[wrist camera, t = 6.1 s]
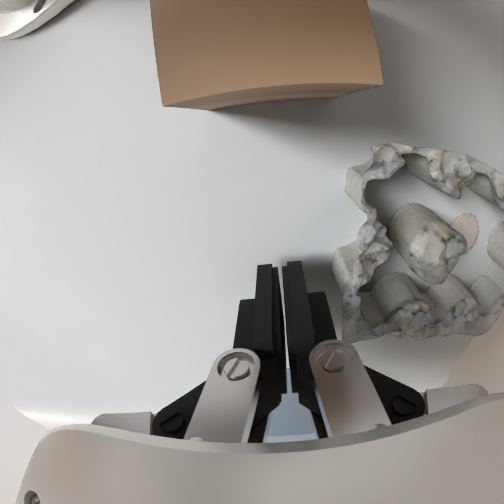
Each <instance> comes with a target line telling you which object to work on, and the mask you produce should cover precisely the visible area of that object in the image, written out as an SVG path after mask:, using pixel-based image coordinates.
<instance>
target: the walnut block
mask: <svg viewBox="0 0 504 504" xmlns="http://www.w3.org/2000/svg"><path fill="white" fill-rule="evenodd" d="M150 6H151V18H152V29H153V38H154V47H155V55H156V63H157V71H158V78H159V85H160V91H161V98H162V104H163V106H164V107H179V108H190V109H200V110H213V109H218V108H224V107H230V106H236V105H243V104H250V103H258V102H267V101H277V100H288V99H303V98H329V97H338V96H341V95H345V94H348V93H352V92H356V91H360V90H364V89H368V88H372V87H376V86H381V85H384V84H383V77H382V70H381V64H380V58H379V52H378V47H377V42H376V37H375V33H374V28H373V24H372V20H371V16H370V12H369V8H368V4H367V1H366V0H150Z"/></svg>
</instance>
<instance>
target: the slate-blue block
mask: <svg viewBox="0 0 504 504" xmlns="http://www.w3.org/2000/svg"><path fill="white" fill-rule="evenodd" d="M286 371H287V394H282V402H280V405H279V406H278V407H276V408H275V409H274V410H273V411H272V414H271V422H270V426H269V431H268V436H267V441H266V443H276V442H292V441H304V440H313V439H316V436H315V433H314V429H313V425H312V421H311V418H310V414H309V409H307V408H306V407H304V406H303V405H301V404H300V403H299V398H298V393H292V387H291V376H290V368H287V369H286Z"/></svg>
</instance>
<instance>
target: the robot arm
mask: <svg viewBox="0 0 504 504" xmlns="http://www.w3.org/2000/svg"><path fill="white" fill-rule="evenodd" d="M73 1H75V0H0V39H15V38H18V37H21V36H24V35H26V34H27V33H29V32H31V31H33V30H35V29H37V28H38V27H40V26H41V25H43V24H44V23H45V22H47V21H48V20H50V19H51V18H53V17H54V16H56V15H57V14H58V13H59V12H60V11H62V10H63V9H64V8H65V7H67V6H68V5H69V4H71V3H72V2H73ZM282 275H283V288H284V303H285V318H286V334H287V346H288V356H289V366H290V376H291V387H292V393H298V398H299V403H300V404H301V405H303V406H304V407H306V408H307V409H309V414H310V418H311V421H312V425H313V429H314V433H315V436H316V439H313V440H304V441H292V442H276V443H266V441H267V436H268V431H269V426H270V422H271V414H272V411H273V410H274V409H275V408H276V407H278V406H279V405H280V402H282V394H287V371H286V348H285V328H284V317H283V308H282V299H281V291H280V283H279V274H278V267H272V264H266V265H258V266H257V280H256V294H255V299H246V300H241V301H240V304H239V311H238V318H237V325H236V332H235V338H234V345H233V349H231V350H228V351H226V352H224V353H222V354H221V355H219V356H218V357H217V358H216V360H215V361H214V363H213V365H212V368H211V370H210V373H209V375H208V378H207V380H206V381H205V382H203V383H202V384H200V385H199V386H197V387H196V388H194V389H193V390H191V391H190V392H188V393H187V394H185V395H184V396H182V397H181V398H179V399H177V400H176V401H174V402H173V403H171V404H170V405H168V406H166V407H165V408H163V409H162V410H161V411H159V412H158V413H157V414H152V413H151V412H138V413H117V414H102V415H99V416H98V417H96V418H95V419H94V420H93V422H92V424H91V425H90V424H74V425H65V426H61V427H57V428H54V429H52V430H50V431H49V432H47V433H46V434H45V435H44V437H43V438H42V439H41V441H40V442H39V444H38V446H37V447H36V449H35V451H34V453H33V455H32V458H31V460H30V462H29V464H28V467H27V469H26V472H25V475H24V477H23V480H22V483H21V487H20V490H19V493H18V497H17V501H16V504H504V393H495V394H489V395H488V393H487V391H486V390H485V389H484V388H483V387H482V386H480V385H478V384H469V385H462V386H454V387H446V388H437V389H426V391H425V392H423V393H419V392H418V391H416V390H414V389H413V388H411V387H408V386H406V385H404V384H402V383H400V382H398V381H396V380H393V379H391V378H389V377H387V376H385V375H383V374H381V373H379V372H377V371H375V370H373V369H371V368H369V367H367V366H365V365H363V363H362V361H361V359H360V357H359V355H358V353H357V351H356V349H355V348H354V347H353V346H352V345H351V344H349V343H348V342H345V341H342V340H337V337H336V333H335V329H334V325H333V321H332V317H331V313H330V309H329V306H328V302H327V298H326V294H325V292H324V291H323V292H314V293H307V289H306V284H305V279H304V274H303V269H302V264H301V261H293V262H287V266H282Z"/></svg>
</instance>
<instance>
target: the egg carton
mask: <svg viewBox="0 0 504 504" xmlns="http://www.w3.org/2000/svg"><path fill="white" fill-rule="evenodd" d="M371 150H372V153H373V155H374V156H373V158H372V159H371V160H370V161H368V162H367V163H365V164H363V165H360V166H356V167H351V168H348V169H347V174H346V184H345V193H346V194H347V195H348V196H349V197H350V198H351V199H352V200H353V201H354V203H355V204H356V205H357V206H358V207H359V208H360V209H361V210H362V211H363V212H365V213H367V221H366V222H365V224H364V225H363V226H361V228H360V230H359V233H358V239H357V240H356V241H354V242H353V243H351V244H349V245H346V246H342V247H339V248H336V250H335V251H334V256H333V261H332V264H331V266H332V271H333V273H334V275H335V279H336V281H337V283H338V286H339V289H340V292H341V297H342V298H343V299H342V310H343V317H342V341H345V342H348V343H349V344H350V343H354V342H357V341H361V340H367V339H376V338H379V337H381V336H383V335H384V334H391V335H395V336H396V337H397V338H399V339H401V338H402V337H403V336H404V335H405V334H407V335H409V336H411V337H413V338H415V339H417V340H419V341H421V340H424V339H426V338H428V337H432V336H448V335H451V334H465V335H475V336H478V335H482V334H485V333H486V332H487V331H488V330H489V329H490V328H491V327H492V325H493V324H494V323H495V321H496V320H497V319H498V316H499V314H500V311H501V309H502V307H503V306H504V221H502V222H499V223H498V224H497V225H496V226H495V227H494V229H493V230H492V232H491V234H490V236H489V239H488V245H487V252H488V255H489V256H490V258H491V259H493V260H492V263H491V265H490V268H489V270H488V272H487V273H486V274H485V275H483V276H481V277H479V278H478V279H477V280H476V281H475V282H474V283H473V284H472V286H471V287H470V289H469V291H468V290H467V289H466V288H465V286H464V285H463V284H462V283H461V282H460V281H459V279H458V278H457V277H456V276H455V275H453V274H450V272H451V271H452V269H453V268H454V266H455V265H456V263H457V261H458V259H459V257H460V256H461V255H464V254H466V253H467V252H468V251H469V250H470V249H471V248H472V247H473V245H474V244H475V242H476V240H477V236H478V233H479V230H478V228H479V227H478V221H477V219H476V217H475V216H474V215H472V214H471V213H465V214H461V215H460V216H458V217H457V218H456V219H455V220H454V221H453V223H452V224H451V226H450V225H449V224H447V223H446V222H445V221H444V220H442V219H441V218H440V217H438V216H437V215H436V214H434V213H433V212H432V211H430V210H429V209H427V208H426V207H424V206H423V205H421V204H417V203H411V204H407V205H405V206H403V207H401V208H400V209H399V210H397V212H396V213H395V214H394V216H393V218H392V220H391V221H390V224H389V238H390V240H389V238H388V237H387V236H386V234H385V232H386V230H387V229H386V228H385V226H384V225H383V224H382V223H381V222H380V221H379V220H378V219H377V211H376V209H375V208H374V207H372V206H370V205H369V204H367V203H366V202H365V198H364V191H365V187H366V184H367V182H368V181H370V180H375V179H387V178H390V177H391V176H392V175H393V174H394V173H395V172H396V171H397V170H398V169H400V168H401V167H402V166H403V165H405V163H406V166H407V167H408V169H409V171H410V172H411V174H413V175H415V176H416V177H418V178H419V179H421V180H423V181H425V182H426V183H428V184H429V185H431V186H433V187H435V188H436V189H438V190H440V191H442V192H444V193H446V194H448V195H449V196H451V197H452V198H453V199H460V197H461V196H462V195H461V189H462V187H464V186H465V185H467V186H468V187H469V189H470V190H472V191H474V192H475V193H477V194H479V195H480V196H482V197H484V198H485V199H487V200H489V201H490V202H492V203H494V204H496V205H498V206H499V207H500V208H501V210H504V174H503V173H501V172H499V171H497V170H495V169H493V168H492V167H490V166H488V165H487V164H485V163H483V162H481V161H479V160H477V159H475V158H473V157H470V156H468V155H465V154H460V153H455V152H450V151H445V150H439V149H433V148H426V147H411V146H407V145H402V144H398V143H389V144H381V145H379V147H376V146H373V147H371ZM402 154H403V156H404V159H403V158H402ZM393 246H394V248H395V249H396V250H397V252H398V253H399V254H400V255H401V257H402V258H403V259H404V261H405V262H406V263H407V265H408V266H409V268H410V269H411V270H412V271H413V272H414V273H415V274H416V275H418V276H419V277H420V278H421V279H423V280H424V281H426V282H428V283H430V284H432V285H431V286H430V287H429V289H428V290H427V291H426V292H425V293H419V291H418V289H417V288H416V286H415V285H414V284H413V282H412V281H411V279H410V278H409V277H408V276H407V275H406V274H404V273H399V272H394V273H390V274H387V275H385V276H384V277H382V278H381V279H380V280H379V281H378V282H377V283H376V284H375V285H374V286H373V288H372V289H371V291H370V292H367V293H358V292H357V291H358V290H359V288H360V287H361V286H362V285H365V284H367V283H369V282H370V281H371V278H372V276H373V273H374V270H375V267H377V266H378V265H380V264H382V263H383V262H385V261H386V260H387V259H388V257H389V255H390V251H391V249H392V248H393Z"/></svg>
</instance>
